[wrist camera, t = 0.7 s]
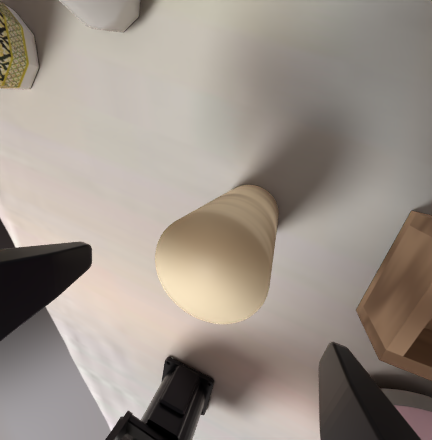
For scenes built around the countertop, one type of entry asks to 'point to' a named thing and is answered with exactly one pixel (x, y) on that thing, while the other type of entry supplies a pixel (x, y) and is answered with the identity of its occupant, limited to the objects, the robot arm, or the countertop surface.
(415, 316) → the wooden square box
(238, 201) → the beech peg
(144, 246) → the countertop surface
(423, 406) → the blender
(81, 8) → the salt shaker
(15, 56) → the ceramic cup
